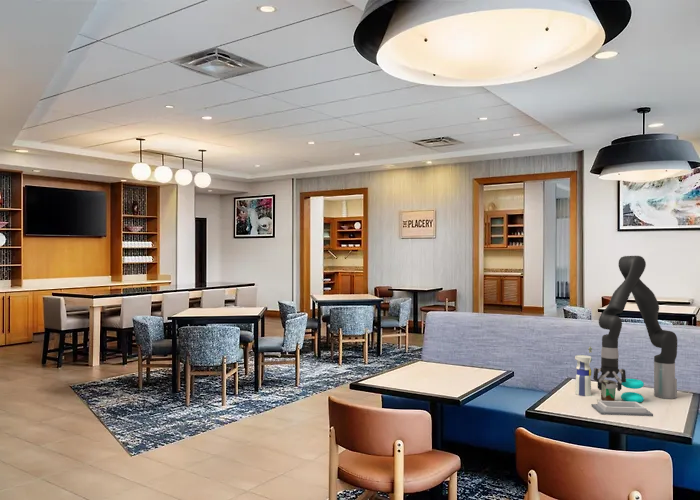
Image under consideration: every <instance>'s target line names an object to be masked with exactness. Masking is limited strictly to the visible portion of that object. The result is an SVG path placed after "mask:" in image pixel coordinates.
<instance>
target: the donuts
mask: <svg viewBox="0 0 700 500" xmlns="http://www.w3.org/2000/svg"><path fill="white" fill-rule="evenodd" d="M644 385H645V384H644V382H643V380H640V379H636V378H626V382H623V383H622V386H623V387H624V388H626V389H630V390H631V389H633V390H639V389H641V388H644ZM644 397H645V396H643V395H642V394H640V393H638V392H633V391H625V392H623V393H622V394H621V395H620V398H621V400H623V401H627V402H638V403H639V404H641V403H642V402H643V401H644V399H645V398H644Z"/></svg>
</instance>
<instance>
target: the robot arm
mask: <svg viewBox="0 0 700 500" xmlns="http://www.w3.org/2000/svg"><path fill="white" fill-rule="evenodd" d="M646 266H647V264H646V260H645V258H644V257H643V256H641V255H623V256H621V257H620V258H619V259H618V268H619V269H618V270H619V271H620V273H621V275H622V277H623V279H624V281H623V282H621V284H620V285H619V286H618V287H617V288H616V289H615V290H614V292H613V294H612V295H611V297H610V300H609V302H608V305H607V306H606V308H604V310H603V312H602V313H601V314H600V315H599V318H598V325H599V327H600V328H601V329H604V330H609V331H608V334H607V333H606V334H603V335H602V337H601V351H600V352H601V355H600V368H597V367H594V368H593V378H592V379H593V381H595V382H596V383H597V390H599V391H601V390H602V383H601V382H602V380H603V379H615V380H616V381H617V382H616V384H617V388H616V390H617V391H618V392H621V390H622V386H623V385H622V383H623V382H626V379H627V377H626V375H627V374H626V369H624V368H619V338H620V334H621V332H622V327H623V321H622V319H621V317H619V316H618V314H622V313H623V311H624V310H625V307H626V305H627V303H628V300H629V298H630V296H631V294H632V296H633V298H634V301H635V304H636V306H637V309H638V311H639V313H640V315H641V316H642V320H643V322H644V325H645V327H646V331H647V334H648V338H649V341H650V343H651V344H652V345H653V347H656V348H658V349H660V351H661V352H660V353H659V354H656V355H654V357H653V374H654V375H653V396H654V397H656V398H659V399H677V398H678V395H677V394H678V383H677V381H678V379H677V378H676V359H677V354H678V337H677V334H676V333H675V332H674V331H671V330H666V329H663V328H662V327H661V325H660V323H659V320H658V316H659V312H660V305H659V302H658V300H657V297H656V295H655V293H654V292H653V290H651V289H650V288H649V287H648V285H646V284H645V283H644V282H643V281H642V280H641V277H642V275H643V273H644V272H645V270H646ZM599 373H601V374H600V375H599ZM618 374H620V376H618ZM620 377H621V378H620Z"/></svg>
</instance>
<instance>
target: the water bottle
mask: <svg viewBox="0 0 700 500" xmlns="http://www.w3.org/2000/svg"><path fill="white" fill-rule="evenodd" d="M588 350H589V351H588V353H593V351H592V350H593V348H592V347H591V346H589V348H588ZM574 360H576V363H577V364H576V367H575V369H576V375H575V391H574V395H577V396H579V397H591V396H592V377H591V376H592V369H591V366H590V363H592V360H593V359H592V356H590V355H586V354H585V355H583V354H576V355H575V356H574Z"/></svg>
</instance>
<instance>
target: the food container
mask: <svg viewBox="0 0 700 500" xmlns="http://www.w3.org/2000/svg"><path fill="white" fill-rule="evenodd" d="M601 383H602V390H600V401H616V390H617V382H616V381H615V380H611V379H608V378H605V379H603V380H602V382H601Z"/></svg>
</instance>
